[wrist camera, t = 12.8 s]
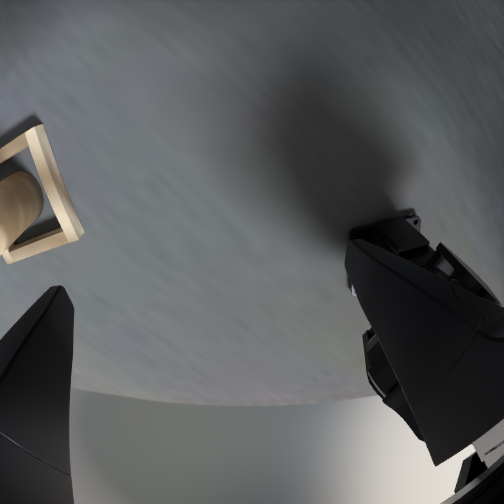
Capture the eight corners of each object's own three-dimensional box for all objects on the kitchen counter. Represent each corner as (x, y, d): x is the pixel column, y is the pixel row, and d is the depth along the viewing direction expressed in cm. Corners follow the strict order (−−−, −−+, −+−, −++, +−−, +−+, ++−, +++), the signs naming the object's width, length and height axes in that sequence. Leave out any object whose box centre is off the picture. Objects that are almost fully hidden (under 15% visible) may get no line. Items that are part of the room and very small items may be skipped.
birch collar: (84, 231, 20) (78, 239, 19) (14, 257, 21) (7, 264, 20) (43, 123, 16) (34, 126, 15) (-25, 169, 16) (-34, 174, 15)
